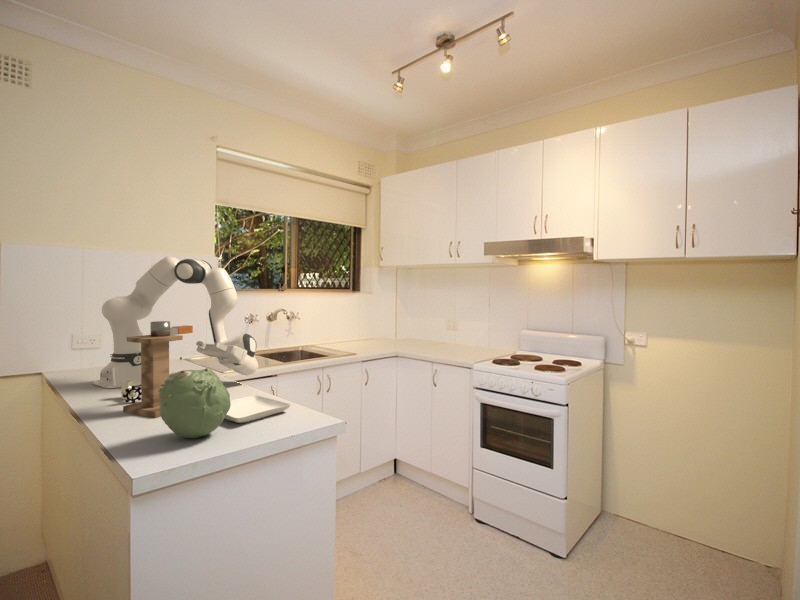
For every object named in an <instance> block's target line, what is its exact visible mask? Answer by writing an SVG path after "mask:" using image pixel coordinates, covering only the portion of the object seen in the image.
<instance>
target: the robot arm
mask: <svg viewBox="0 0 800 600" xmlns="http://www.w3.org/2000/svg"><path fill="white" fill-rule="evenodd" d="M177 281H180V282H181V283H184V284H191V285H193V284H194V285H195V284H196V285H197V284H202V285H204V286H205V288H206V290H207V292H208V294H209V298H210V308H209V309H208V310H209V311H208V319H209V324H210V329H211V334H212V337H213V338H212V340H213V343H206V342H205V343H204V342H203V341H200V340H198V341H196V344H195V345H196V346H197V347H196V352H198V353H199V354H202V355H203V356H207V357H210V358H216V359H217V361H218V363H219V364H220V365H223V366H224V367H226V368H228V369H231V370H233V371H234V372H236V373H237V374H240V375H241V376H246V377H247V376H251V375H253V374H255V373H256V371H257V370H258V369H259V362H258V360H257V359H256V352H257V347H258V346H257V344H258V343H257V341H256V340H255V338H254V336H252V335H250V334H249V333H243V334H239V335H237V336H235V337H231V338H227V335H226V330H225V326H224V325H225V324H224V320H225V318H226V316H227V315H228V313H230V312H231V311H232V310H233V309H234V308H235V307H236V305H237V304H238V300H239V299H238V293H237V290H236V288H235V285H234V283H233V281H232V279H231V277H230V275H229V274H228V272H227V270H226V269H224V268H223V267H212V266H211V264H210V263H209V262H207V261H205V260H202V259H198V258H185V259H182V260H180V259H178V258H177V257H175V256H171V255H168V256H165V257H163V258H162V259H160V260H159V261H158V262H156V263H155V264H154V265H152V266H151V267H150V268H149V269H148V270H147V271H146V272H145V273H144V274H143V275H142V276H140V278H139V279H138V280H137V281H136V282H135V287H134V289H133V291H132V292H131V293H130V294H128V295H126V296H124V295H123V296H115V297H113V298H110V299H106V301H105V302H103V304H102V306H101V313H102V315H103V317H104V319H106V320H107V321H108V323H109V325H110V328H111V333H112V341H113V353H112V354H109V355H110V356H109V358H110V362H109V363H108V364H107V365H105V366H104V367H103V368H102V369H101V370H100V375H99V376H100V377H99V379H98V380H95V381H93V385H94V386H95V385H96V386H98V387H101V388H103V389H104V388H105V389H116V388H117V389H118V388H122V386H121V382H123V381H133V386H135V387H136V386H137V387H138V386H141V343H136V342H127V337H134V336H144V334H143V332H142V331H141V329H140V327H139V324H138V321H139V320H142V319H144V318H146V317H148V316H149V315H150V314H151V313H152V312H153V307H154V306H155V304H156V303H157V301H158V300H159V299H160V298H161V297H162V295H164V294H165V292H167V291H168V290H169V289H170V288H171V287H172V286H173V285H174V284H175V283H176V282H177Z"/></svg>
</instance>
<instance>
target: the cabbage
mask: <svg viewBox="0 0 800 600" xmlns="http://www.w3.org/2000/svg"><path fill="white" fill-rule="evenodd" d="M164 382H165V384H162V385H160V386H163V388H160V389H159V390H158V392H160V393H159V396H158V397H159V403H160V415H161V416H160V417H161V420H162V421H163V423H164V424H165V425H166V426H167V427H168V428H169V430H171V432H173V433H174V434H175V435H177V436H179V437H182V438H186V439H198V438H201V437H205V436H206V435H209V434H211V433H212V432H215V430H217V429H218V427H220V425H221V424H222V423H223V422H224V420H225V419H224V418H225V416H226V414H227V413H228V411H229V409H230V406H231V402H230V400H231V399H230V398H231V396H230V393H229V392H230V391H228V389H227V388H226V387H225V385H224V383H223V382H222V380H221V378H220V377H219V375H217V373H215V372H214V371H213V370H212V369H209V368H208V367H207V368H203V369H184V370H180V371H177V372H174V371H172V372H171V373H169V376H168V379H167V380H165V381H164Z"/></svg>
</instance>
